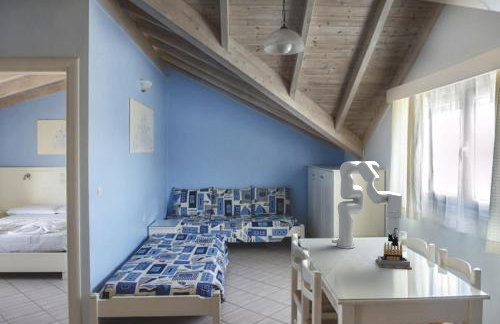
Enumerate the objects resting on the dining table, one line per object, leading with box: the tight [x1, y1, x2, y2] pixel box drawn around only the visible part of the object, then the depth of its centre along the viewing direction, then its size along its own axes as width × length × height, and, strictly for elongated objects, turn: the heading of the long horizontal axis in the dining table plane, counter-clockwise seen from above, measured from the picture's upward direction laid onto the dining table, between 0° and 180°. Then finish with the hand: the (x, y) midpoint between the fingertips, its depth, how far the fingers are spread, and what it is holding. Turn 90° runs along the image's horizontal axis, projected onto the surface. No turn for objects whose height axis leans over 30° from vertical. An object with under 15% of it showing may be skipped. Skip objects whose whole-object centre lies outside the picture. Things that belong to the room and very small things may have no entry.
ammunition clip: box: [383, 241, 404, 261], centre depth 215 cm, size 11×2×12 cm, turn 82°
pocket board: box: [375, 255, 413, 270], centre depth 215 cm, size 17×14×4 cm
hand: (392, 243), depth 215 cm, fingers open, 9 cm apart
